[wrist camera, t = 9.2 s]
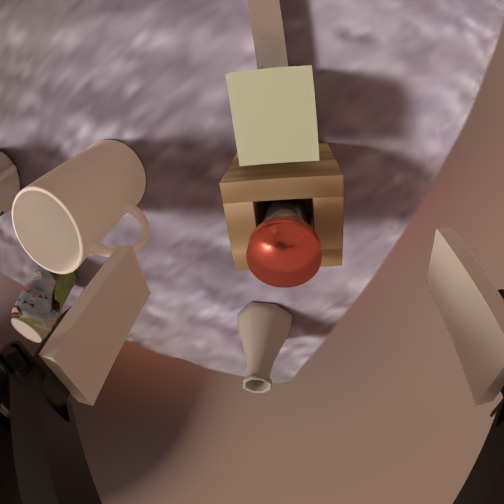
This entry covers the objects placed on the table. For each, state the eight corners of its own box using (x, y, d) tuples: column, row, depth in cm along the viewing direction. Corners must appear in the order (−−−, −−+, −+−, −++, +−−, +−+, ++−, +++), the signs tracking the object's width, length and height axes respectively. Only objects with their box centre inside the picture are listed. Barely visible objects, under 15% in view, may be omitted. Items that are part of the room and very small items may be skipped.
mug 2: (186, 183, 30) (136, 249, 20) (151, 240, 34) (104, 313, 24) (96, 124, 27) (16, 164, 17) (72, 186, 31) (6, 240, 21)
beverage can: (61, 243, 36) (10, 301, 26) (91, 285, 40) (50, 346, 30) (40, 256, 38) (-6, 309, 28) (68, 293, 41) (29, 349, 32)
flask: (246, 293, 37) (234, 360, 29) (302, 310, 38) (302, 378, 29) (230, 329, 41) (216, 392, 33) (279, 344, 42) (275, 406, 33)
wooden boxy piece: (239, 148, 27) (219, 183, 20) (329, 142, 26) (346, 175, 18) (249, 216, 31) (235, 269, 24) (331, 211, 30) (344, 265, 22)
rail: (227, -45, 17) (218, -60, 13) (285, -51, 16) (284, -68, 13) (255, 146, 27) (250, 159, 24) (310, 143, 26) (314, 154, 23)
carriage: (244, 72, 23) (225, 73, 16) (303, 67, 22) (311, 65, 15) (253, 137, 26) (239, 166, 19) (310, 133, 25) (319, 160, 18)
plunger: (254, 182, 23) (241, 227, 17) (312, 178, 22) (321, 222, 16) (260, 232, 25) (251, 288, 19) (314, 229, 25) (321, 285, 19)
